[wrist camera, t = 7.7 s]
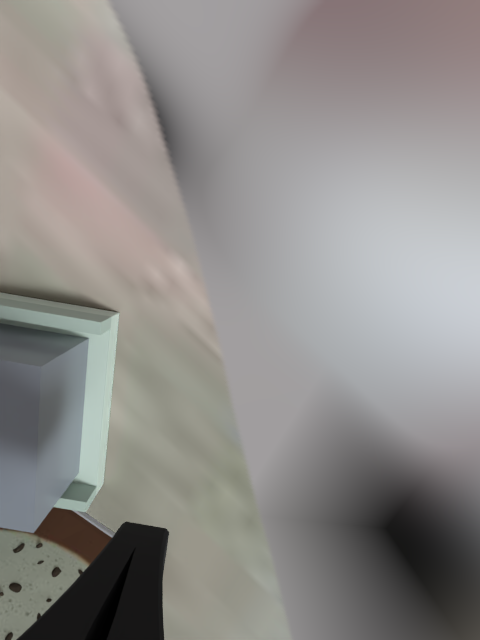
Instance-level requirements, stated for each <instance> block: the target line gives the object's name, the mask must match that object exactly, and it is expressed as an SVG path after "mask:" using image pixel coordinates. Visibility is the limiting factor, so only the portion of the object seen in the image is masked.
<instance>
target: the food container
mask: <svg viewBox="0 0 480 640" xmlns="http://www.w3.org/2000/svg"><path fill="white" fill-rule="evenodd" d="M114 535H115V533H114V532H113V531H111V530H110V529H108V528H107V527H105V526H104V525H103V524H101V523H100V522H98V521H97V520H95V519H94V518H92V517H91V516H90V515H88V514H87V513H85V512H80V511H74V510H68V509H62V508H56V507H53V508H52V509H51V511H50V512H49V513H48V515H47V516H46V517H45V519H44V520H43V521H42V523H41V524H40V525H39V527H38V528H37V529H36V531H35V532H34V533H30V532H24V531H18V530H12V529H7V528H1V527H0V640H16V639H18V638H19V637H20V636H21V635H22V634H23V633H24V632H25V631H26V630H27V629H28V628H29V627H30V626H31V625H33V624H34V623H35V622H36V621H37V620H38V619H39V618H40V617H41V616H42V615H43V614H44V613H45V612H46V611H47V610H48V609H49V608H50V607H51V606H52V605H53V604H54V603H55V602H56V601H57V600H58V599H59V598H60V596H61V595H62V594H63V593H64V592H65V591H66V590H67V589H68V588H69V587H70V586H71V585H72V584H73V583H74V582H75V581H76V580H77V578H78V577H79V576H80V575H81V574H82V573H83V572H84V571H85V569H86V568H87V567H88V566H89V565H90V564H91V563H92V562H93V560H94V559H95V558H96V557H97V556H98V555H99V553H100V552H101V551H102V550H103V549H104V547H105V546H106V545H107V544H108V542H109V541H110V540H111V539H112V537H113V536H114Z"/></svg>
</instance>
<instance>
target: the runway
mask: <svg viewBox="0 0 480 640" xmlns="http://www.w3.org/2000/svg"><path fill="white" fill-rule="evenodd" d="M118 321H119V312H113V311H107V310H101V309H95V308H89V307H83V306H77V305H72V304H66V303H60V302H54V301H48V300H42V299H36V298H31V297H25V296H19V295H13V294H7V293H1V292H0V323H3V324H9V325H15V326H20V327H26V328H32V329H38V330H44V331H50V332H56V333H62V334H67V335H73V336H79V337H85V338H89V345H88V359H87V372H86V385H85V399H84V412H83V426H82V439H81V452H80V466H79V473H78V475H77V476H76V477H75V479H74V480H73V481H72V483H71V484H70V485H69V487H68V488H67V489H66V491H65V492H64V493H63V495H62V496H61V497H60V499H59V500H58V501H57V503H56V504H55V505H54V507H56V508H62V509H68V510H74V511H80V512H86V511H87V509H88V508H89V506H90V504H91V503H92V501H93V500H94V498H95V496H96V495H97V493H98V491H99V490H100V488H101V487H102V485H103V483H104V472H105V461H106V450H107V440H108V429H109V418H110V407H111V397H112V386H113V375H114V364H115V354H116V343H117V332H118Z"/></svg>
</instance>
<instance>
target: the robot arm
mask: <svg viewBox="0 0 480 640" xmlns="http://www.w3.org/2000/svg"><path fill="white" fill-rule="evenodd" d="M168 536H169V532H168V531H167V529H165V528H160V527H154V526H148V525H142V524H136V523H130V522H125V523H123V524H122V525H121V527H120V528H119V529H118V531H117V532H116V533H115V535H114V536H113V537H112V539H111V540H110V541H109V542H108V544H107V545H106V546H105V547H104V549H103V550H102V551H101V552H100V553H99V555H98V556H97V557H96V558H95V559H94V560H93V562H92V563H91V564H90V565H89V566H88V567H87V568H86V569H85V571H84V572H83V573H82V574H81V575H80V576H79V577H78V578H77V580H76V581H75V582H74V583H73V584H72V585H71V586H70V587H69V588H68V589H67V590H66V591H65V592H64V593H63V594H62V595H61V596H60V598H59V599H58V600H57V601H56V602H55V603H54V604H53V605H52V606H51V607H50V608H49V609H48V610H47V611H46V612H45V613H44V614H43V615H42V616H41V617H40V618H39V619H38V620H37V621H36V622H35V623H34V624H33V625H31V626H30V627H29V628H28V629H27V630H26V631H25V632H24V633H23V634H22V635H21V636H20V637H19V638H18V639H16V640H164V629H163V607H162V580H163V570H164V563H165V557H166V550H167V543H168Z"/></svg>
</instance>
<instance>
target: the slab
mask: <svg viewBox="0 0 480 640" xmlns="http://www.w3.org/2000/svg"><path fill="white" fill-rule="evenodd" d="M88 345H89V338H85V337H79V336H73V335H67V334H62V333H56V332H50V331H44V330H38V329H32V328H26V327H20V326H15V325H9V324H3V323H0V527H1V528H7V529H12V530H18V531H24V532H30V533H34V532H35V531H36V529H37V528H38V527H39V525H40V524H41V523H42V521H43V520H44V519H45V517H46V516H47V515H48V513H49V512H50V511H51V509H52V508H53V507H54V505H55V504H56V503H57V501H58V500H59V499H60V497H61V496H62V495H63V493H64V492H65V491H66V489H67V488H68V487H69V485H70V484H71V483H72V481H73V480H74V479H75V477H76V476H77V475H78V473H79V466H80V452H81V439H82V426H83V412H84V399H85V385H86V372H87V359H88Z"/></svg>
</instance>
